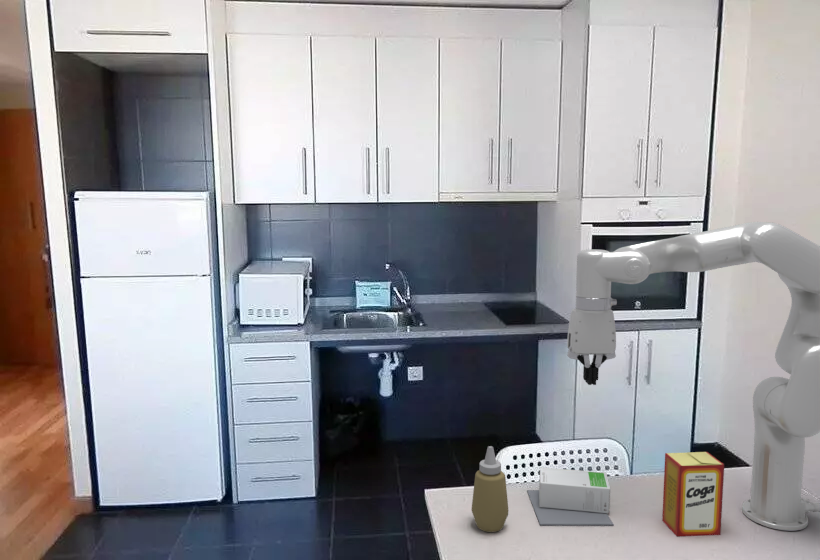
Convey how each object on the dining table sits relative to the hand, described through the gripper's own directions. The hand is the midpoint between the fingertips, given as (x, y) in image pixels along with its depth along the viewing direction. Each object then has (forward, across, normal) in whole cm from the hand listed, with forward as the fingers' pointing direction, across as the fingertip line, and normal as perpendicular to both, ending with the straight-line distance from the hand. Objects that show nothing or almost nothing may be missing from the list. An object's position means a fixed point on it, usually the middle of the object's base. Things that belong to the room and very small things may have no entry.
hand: (590, 383), depth 136 cm
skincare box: (+26, -4, +2) cm, 26 cm away
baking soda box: (+29, -20, +11) cm, 37 cm away
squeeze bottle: (+29, +24, +10) cm, 39 cm away
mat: (+29, +5, +2) cm, 30 cm away
